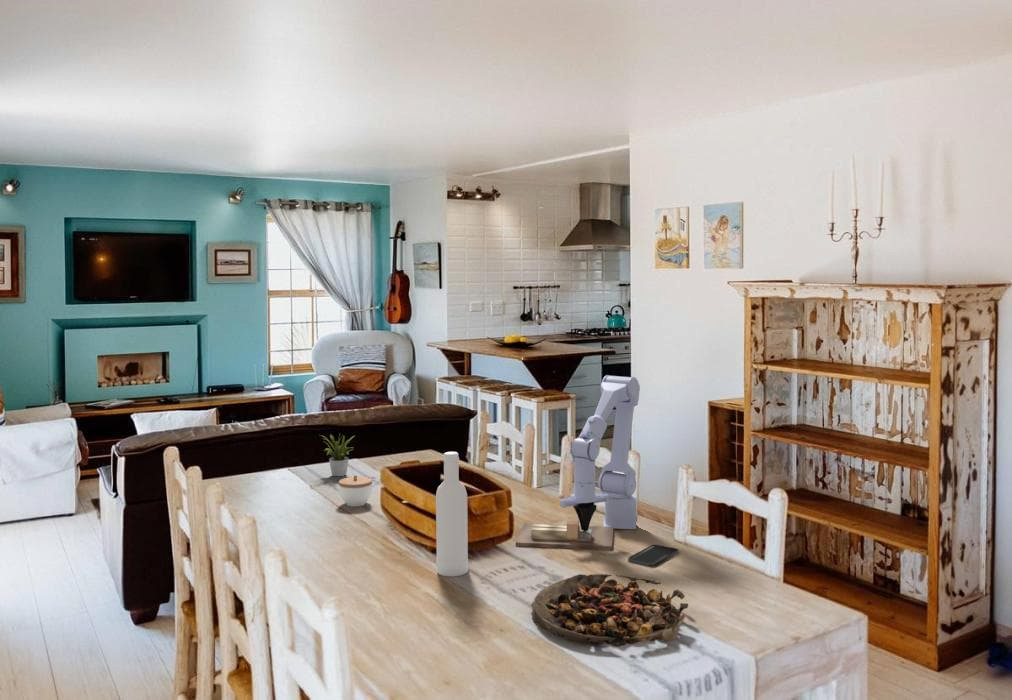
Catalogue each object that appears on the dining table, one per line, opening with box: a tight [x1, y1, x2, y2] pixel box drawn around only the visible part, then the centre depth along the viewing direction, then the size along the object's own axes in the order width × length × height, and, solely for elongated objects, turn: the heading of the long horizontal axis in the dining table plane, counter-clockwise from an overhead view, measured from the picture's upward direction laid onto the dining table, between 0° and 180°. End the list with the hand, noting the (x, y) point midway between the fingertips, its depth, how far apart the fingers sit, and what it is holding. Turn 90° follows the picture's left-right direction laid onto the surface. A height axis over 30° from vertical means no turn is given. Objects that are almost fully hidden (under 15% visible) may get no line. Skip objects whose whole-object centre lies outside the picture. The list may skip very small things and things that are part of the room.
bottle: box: [435, 451, 469, 578], centre depth 213 cm, size 8×8×30 cm
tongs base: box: [515, 523, 614, 551], centre depth 241 cm, size 26×18×4 cm
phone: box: [627, 544, 679, 568], centre depth 225 cm, size 8×1×15 cm
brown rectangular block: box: [566, 516, 580, 541], centre depth 238 cm, size 3×6×5 cm, turn 172°
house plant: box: [319, 434, 355, 477], centre depth 317 cm, size 14×14×16 cm
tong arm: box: [532, 523, 580, 531], centre depth 240 cm, size 13×2×2 cm, turn 78°
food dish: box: [530, 573, 689, 647], centre depth 186 cm, size 35×33×8 cm
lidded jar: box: [338, 474, 373, 507], centre depth 278 cm, size 11×11×9 cm
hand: (584, 529), depth 237 cm, fingers closed
